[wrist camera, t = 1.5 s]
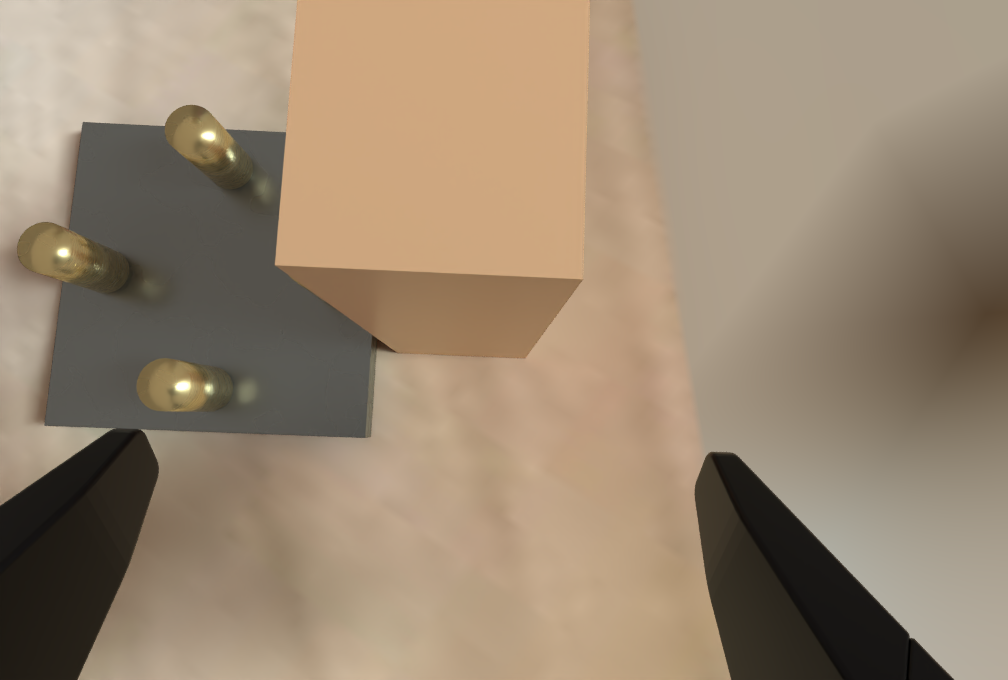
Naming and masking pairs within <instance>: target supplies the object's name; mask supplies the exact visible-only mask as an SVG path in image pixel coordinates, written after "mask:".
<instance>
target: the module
mask: <svg viewBox="0 0 1008 680" xmlns="http://www.w3.org/2000/svg"><path fill="white" fill-rule="evenodd" d="M589 18H590V0H297V11H296V23H295V34H294V46H293V58H292V70H291V81H290V93H289V105H288V117H287V128H286V140H285V152H284V164H283V175H282V187H281V199H280V210H279V222H278V234H277V246H276V257H275V266H277V267H278V268H279V269H281V270H282V271H284V272H285V273H286V274H288V275H289V276H291V277H292V278H293V279H295V280H296V281H298V282H299V283H300V284H302V285H303V286H305V287H306V288H307V289H309V290H310V291H312V292H313V293H314V294H316V295H317V296H319V297H320V298H321V299H323V300H324V301H326V302H327V303H328V304H330V305H331V306H333V307H334V308H335V309H337V310H338V311H340V312H341V313H342V314H344V315H345V316H347V317H348V318H349V319H351V320H352V321H354V322H355V323H356V324H358V325H359V326H361V327H362V328H363V329H365V330H366V331H368V332H369V333H370V334H372V335H373V336H375V337H376V338H377V339H379V340H380V341H382V342H383V343H384V344H386V345H387V346H389V347H390V348H391V349H393V350H394V351H396V352H397V353H410V354H434V355H458V356H482V357H505V358H526V356H527V355H528V354H529V352H530V351H531V350H532V348H533V347H534V346H535V344H536V343H537V341H538V340H539V339H540V337H541V336H542V335H543V333H544V332H545V331H546V329H547V328H548V326H549V325H550V324H551V322H552V321H553V320H554V318H555V317H556V316H557V314H558V313H559V311H560V310H561V309H562V307H563V306H564V305H565V303H566V302H567V301H568V299H569V298H570V296H571V295H572V294H573V292H574V291H575V290H576V288H577V287H578V286H579V284H580V283H581V282H582V280H583V263H584V223H585V182H586V141H587V100H588V59H589Z"/></svg>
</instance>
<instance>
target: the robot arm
mask: <svg viewBox="0 0 1008 680" xmlns="http://www.w3.org/2000/svg"><path fill="white" fill-rule="evenodd" d="M158 473H159V466H158V462H157V459H156V457H155V455H154V452H153V450H152V448H151V446H150V444H149V441H148V439H147V437H146V435H145V433H144V432H143V431H141V430H139V429H124V428H117V429H113V430H110V431H109V432H107V433H105V434H104V435H103V436H101V437H100V438H98V439H97V440H95V441H94V442H92V443H91V444H89V445H88V446H87V447H85V448H84V449H82V450H81V451H79V452H78V453H76V454H75V455H73V456H72V457H71V458H69V459H68V460H66V461H65V462H63V463H62V464H60V465H59V466H57V467H56V468H55V469H53V470H52V471H50V472H49V473H47V474H46V475H44V476H43V477H41V478H40V479H39V480H37V481H36V482H34V483H33V484H31V485H30V486H28V487H27V488H25V489H24V490H23V491H21V492H20V493H18V494H17V495H15V496H14V497H12V498H11V499H9V500H8V501H7V502H5V503H4V504H2V505H1V506H0V680H77V679H78V677H79V675H80V673H81V671H82V668H83V666H84V664H85V662H86V660H87V657H88V655H89V653H90V651H91V648H92V646H93V644H94V642H95V640H96V637H97V635H98V633H99V631H100V629H101V626H102V624H103V622H104V620H105V618H106V615H107V613H108V611H109V609H110V607H111V604H112V602H113V600H114V598H115V596H116V593H117V591H118V589H119V587H120V584H121V582H122V580H123V578H124V575H125V573H126V571H127V568H128V566H129V563H130V560H131V557H132V555H133V552H134V549H135V546H136V543H137V540H138V537H139V534H140V530H141V527H142V524H143V521H144V518H145V515H146V512H147V509H148V506H149V503H150V500H151V497H152V494H153V491H154V487H155V484H156V481H157V478H158ZM695 502H696V510H697V517H698V524H699V531H700V538H701V545H702V552H703V560H704V567H705V574H706V580H707V586H708V590H709V595H710V599H711V603H712V607H713V611H714V615H715V618H716V622H717V626H718V630H719V634H720V638H721V642H722V646H723V649H724V653H725V657H726V661H727V665H728V669H729V673H730V677H731V680H954V679H953V678H952V677H951V676H950V675H949V674H948V673H947V672H946V671H945V670H944V669H943V668H942V667H941V666H940V665H939V664H938V663H937V662H936V661H935V660H934V659H933V658H932V657H931V656H930V655H929V654H928V652H927V651H926V650H925V649H923V647H922V646H921V645H920V644H919V643H918V642H917V641H916V640H915V639H913V638H910V639H909V633H908V632H907V631H906V630H905V629H904V628H903V627H902V626H901V625H900V624H899V623H898V622H897V621H896V620H895V619H894V618H893V616H891V614H890V613H888V611H887V610H886V609H885V608H884V607H883V606H882V605H881V604H880V603H879V602H878V601H877V600H876V599H875V598H874V597H873V596H872V595H871V594H870V593H869V592H868V590H867V589H866V588H865V587H863V585H862V584H861V583H860V582H859V581H858V580H857V579H856V578H855V577H854V576H853V575H852V574H851V573H850V572H849V571H848V570H847V569H846V568H845V567H844V566H843V565H842V564H841V563H840V561H839V560H838V559H836V557H835V556H834V555H833V554H832V553H831V552H830V551H829V550H828V549H827V548H826V547H825V546H824V545H823V544H822V543H821V542H820V541H819V540H818V539H817V538H816V537H815V536H814V534H813V533H812V532H811V531H810V530H809V529H808V528H807V527H806V526H805V525H804V524H803V523H802V522H801V521H800V520H799V519H798V518H797V517H796V516H795V515H794V514H793V513H792V512H791V511H790V510H789V509H788V507H786V505H785V504H784V503H783V502H782V501H781V500H780V499H779V498H778V497H777V496H776V495H775V494H774V493H773V492H772V491H771V490H770V489H769V488H768V487H767V486H766V485H765V484H764V483H763V482H762V481H761V479H760V478H759V477H758V476H757V475H756V474H755V473H754V472H753V471H752V470H751V469H750V468H749V467H748V466H747V465H746V464H745V463H744V462H743V461H742V460H741V459H740V458H739V457H738V456H737V455H736V454H734V453H730V452H710V453H709V454H708V455H707V456H706V458H705V460H704V463H703V465H702V468H701V471H700V473H699V476H698V479H697V481H696V485H695Z"/></svg>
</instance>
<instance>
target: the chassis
mask: <svg viewBox="0 0 1008 680" xmlns="http://www.w3.org/2000/svg"><path fill="white" fill-rule="evenodd" d="M285 140H286V132H266V131H247V130H227V129H224V128H223V127H222V125H221V124H220V123H219V122H218V121H217V120H216V119H215V118H214V117H213V116H212V114H211V113H210V112H209V111H207V110H206V109H205V108H203V107H200V106H196V105H186V106H183V107H180V108H178V109H176V110H175V111H174V112H173V113H172V114H171V115H170V116H169V117H168V119H167V121H166V124H165V126H149V125H129V124H110V123H90V122H83V125H82V133H81V140H80V148H79V156H78V164H77V172H76V180H75V188H74V196H73V204H72V211H71V219H70V227H69V230H68V229H66V228H64V227H61V226H59V225H57V224H54V223H49V222H42V223H38V224H35V225H33V226H31V227H29V228H28V229H27V230H26V231H25V232H24V233H23V234H22V236H21V237H20V239H19V242H18V246H17V253H18V257H19V260H20V261H21V263H22V264H23V265H24V266H25V267H26V268H27V269H29V270H31V271H33V272H36V273H39V274H43V275H46V276H49V277H52V278H55V279H58V280H61V281H63V283H62V290H61V298H60V306H59V314H58V322H57V330H56V338H55V346H54V354H53V361H52V369H51V377H50V385H49V393H48V401H47V409H46V417H45V425H44V426H69V427H95V428H124V429H147V430H173V431H199V432H226V433H252V434H278V435H304V436H330V437H356V438H367V437H371V425H372V409H373V394H374V378H375V363H376V347H377V338H376V337H375V336H373V335H372V334H370V333H369V332H368V331H366V330H365V329H363V328H362V327H361V326H359V325H358V324H356V323H355V322H354V321H352V320H351V319H349V318H348V317H347V316H345V315H344V314H342V313H341V312H340V311H338V310H337V309H335V308H334V307H333V306H331V305H330V304H328V303H327V302H326V301H324V300H323V299H321V298H320V297H319V296H317V295H316V294H314V293H313V292H312V291H310V290H309V289H307V288H306V287H305V286H303V285H302V284H300V283H299V282H298V281H296V280H295V279H293V278H292V277H291V276H289V275H288V274H286V273H285V272H284V271H282V270H281V269H279V268H278V267H277V266H275V257H276V246H277V234H278V222H279V210H280V199H281V187H282V175H283V164H284V152H285Z"/></svg>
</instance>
